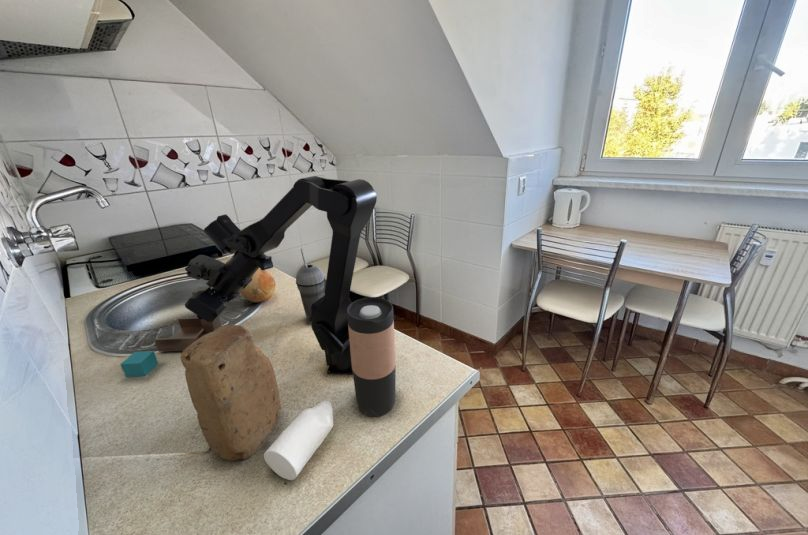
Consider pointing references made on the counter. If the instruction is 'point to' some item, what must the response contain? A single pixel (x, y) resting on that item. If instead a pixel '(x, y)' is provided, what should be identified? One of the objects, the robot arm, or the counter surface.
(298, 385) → the counter surface
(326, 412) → the white bottle
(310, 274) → the beverage cup
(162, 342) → the brown angle bracket
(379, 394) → the travel mug
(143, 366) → the cube
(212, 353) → the porous brown stone
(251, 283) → the onion
